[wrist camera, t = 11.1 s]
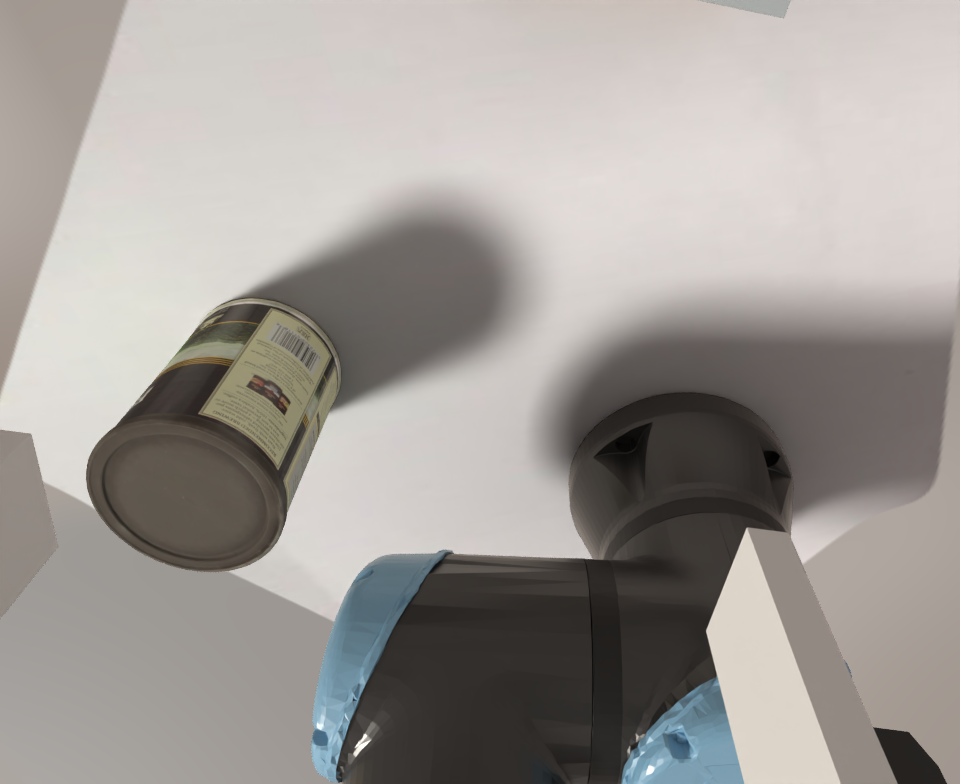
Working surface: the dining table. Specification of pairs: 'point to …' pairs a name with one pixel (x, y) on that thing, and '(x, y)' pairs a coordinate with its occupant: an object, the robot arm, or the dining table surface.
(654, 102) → the dining table surface
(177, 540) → the coffee can
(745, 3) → the tower top
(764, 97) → the dining table surface
